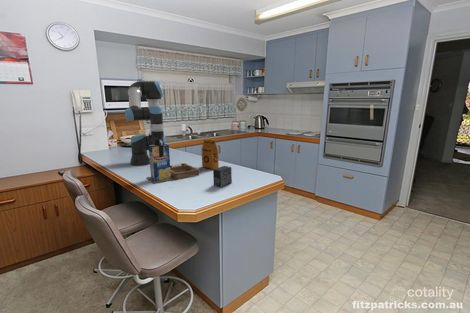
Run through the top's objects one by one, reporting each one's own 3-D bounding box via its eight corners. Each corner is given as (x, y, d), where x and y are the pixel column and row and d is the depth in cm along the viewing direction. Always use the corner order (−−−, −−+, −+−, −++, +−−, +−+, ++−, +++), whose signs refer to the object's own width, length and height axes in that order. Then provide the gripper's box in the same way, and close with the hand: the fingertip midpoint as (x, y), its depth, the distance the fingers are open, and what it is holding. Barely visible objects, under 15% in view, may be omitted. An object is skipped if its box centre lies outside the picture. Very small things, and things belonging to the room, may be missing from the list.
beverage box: (150, 178, 165) (148, 145, 160) (166, 175, 171) (164, 143, 166) (154, 181, 159) (152, 147, 154) (171, 177, 166) (169, 145, 161)
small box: (224, 181, 162) (224, 165, 159) (232, 183, 158) (232, 167, 155) (212, 185, 154) (212, 168, 151) (220, 187, 150) (220, 170, 147)
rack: (163, 171, 181) (163, 166, 180) (184, 168, 191) (184, 163, 190) (176, 179, 164) (175, 173, 163) (199, 175, 174) (198, 169, 173)
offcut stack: (168, 171, 182) (168, 165, 181) (181, 169, 187) (181, 164, 186) (170, 173, 179) (169, 167, 178) (183, 171, 184) (183, 165, 183)
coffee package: (211, 170, 185) (211, 141, 180) (200, 167, 193) (199, 139, 188) (220, 167, 192) (220, 139, 187) (209, 165, 200) (208, 137, 195)
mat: (146, 178, 167) (146, 177, 167) (166, 174, 175) (166, 173, 175) (153, 183, 156) (153, 182, 156) (175, 179, 164) (175, 178, 164)
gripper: (147, 129, 162) (150, 165, 167) (155, 132, 150) (158, 170, 155) (158, 129, 166) (161, 163, 172) (167, 131, 154) (170, 168, 160)
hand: (159, 166), depth 163 cm, fingers open, 2 cm apart
